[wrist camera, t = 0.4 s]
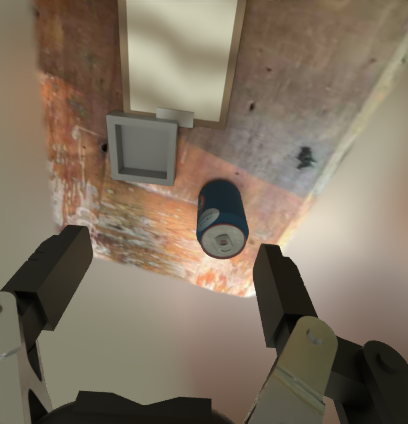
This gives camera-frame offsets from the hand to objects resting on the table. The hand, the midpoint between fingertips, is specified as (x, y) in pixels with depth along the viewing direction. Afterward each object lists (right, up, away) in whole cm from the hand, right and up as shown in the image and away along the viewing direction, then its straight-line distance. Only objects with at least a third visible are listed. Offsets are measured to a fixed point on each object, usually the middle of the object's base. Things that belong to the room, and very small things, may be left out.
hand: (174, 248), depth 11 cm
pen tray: (-7, +11, +24) cm, 28 cm away
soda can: (+4, +4, +29) cm, 30 cm away
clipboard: (-2, +22, +17) cm, 28 cm away
